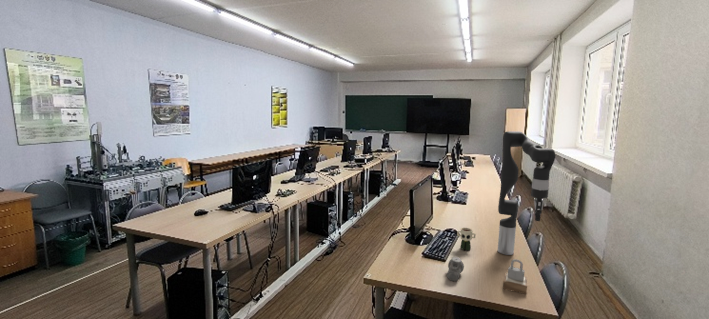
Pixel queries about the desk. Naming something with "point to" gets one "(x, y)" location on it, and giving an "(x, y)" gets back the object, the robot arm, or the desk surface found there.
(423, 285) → the desk surface
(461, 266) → the pipe fitting
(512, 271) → the padlock
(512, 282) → the base
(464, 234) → the character mug
